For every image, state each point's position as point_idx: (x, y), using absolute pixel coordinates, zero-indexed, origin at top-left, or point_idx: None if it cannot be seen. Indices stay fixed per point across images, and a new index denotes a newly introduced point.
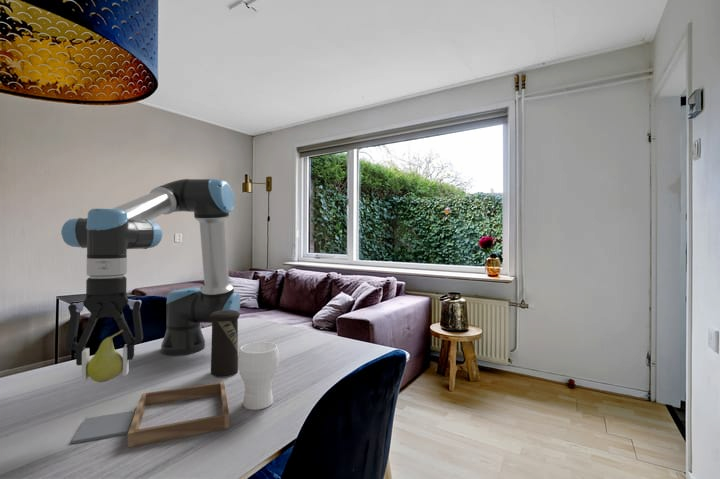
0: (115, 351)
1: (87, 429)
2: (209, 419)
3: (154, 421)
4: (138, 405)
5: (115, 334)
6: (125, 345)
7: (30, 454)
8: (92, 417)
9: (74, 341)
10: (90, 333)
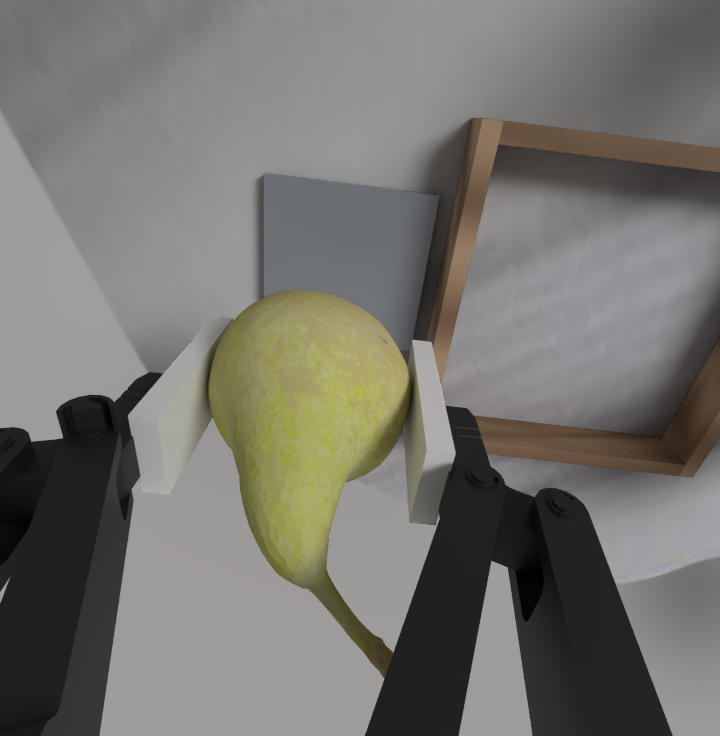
0: (358, 459)
1: (291, 278)
2: (632, 468)
3: (493, 305)
4: (454, 263)
5: (351, 635)
6: (427, 475)
7: (174, 334)
8: (287, 179)
9: (5, 478)
10: (104, 571)
